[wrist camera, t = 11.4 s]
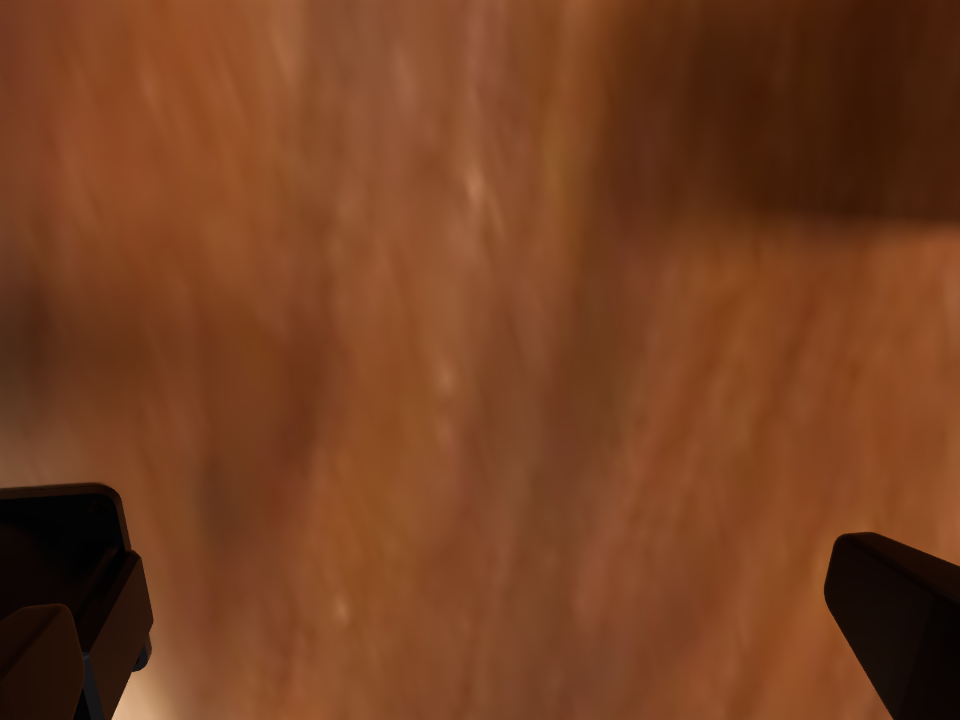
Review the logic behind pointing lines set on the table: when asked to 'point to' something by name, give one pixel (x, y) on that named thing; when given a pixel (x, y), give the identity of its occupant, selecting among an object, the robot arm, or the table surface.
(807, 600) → the table surface
